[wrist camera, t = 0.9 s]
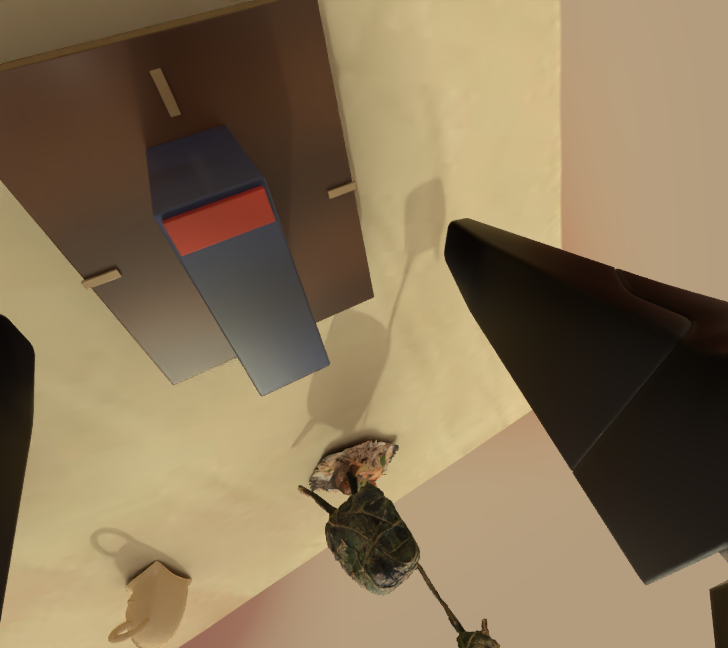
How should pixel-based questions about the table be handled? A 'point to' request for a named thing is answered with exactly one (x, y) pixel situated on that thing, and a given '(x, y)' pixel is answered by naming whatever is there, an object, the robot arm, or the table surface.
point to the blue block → (236, 254)
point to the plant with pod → (374, 528)
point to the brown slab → (174, 121)
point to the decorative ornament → (153, 608)
